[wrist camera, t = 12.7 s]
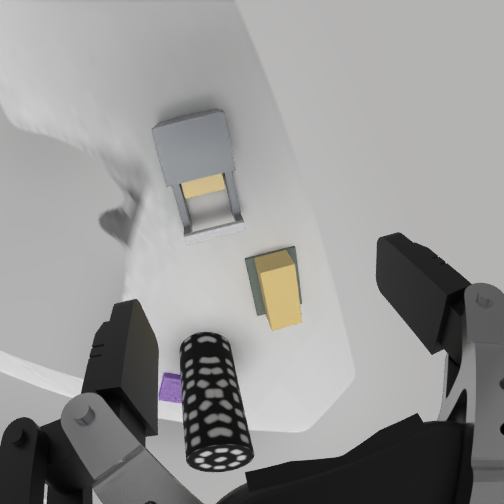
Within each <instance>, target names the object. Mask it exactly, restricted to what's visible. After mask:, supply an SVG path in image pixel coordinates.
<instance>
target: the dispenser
mask: <svg viewBox="0 0 504 504" xmlns="http://www.w3.org/2000/svg"><path fill="white" fill-rule="evenodd" d="M152 133H153V137H154V141H155V145H156V149H157V153H158V157H159V160H160V164H161V168H162V172H163V175H164V179H165V183H166V186H167V187H169V186H172V187H173V191H174V194H175V198H176V201H177V205H178V209H179V212H180V216H181V219H182V223H183V226H184V239H185V242H186V245H188V244H191V243H195V242H199V241H203V240H207V239H211V238H215V237H219V236H223V235H227V234H231V233H236V232H240V231H244V230H246V228H245V223H244V220H243V218H242V216H241V214H240V209H239V204H238V199H237V194H236V190H235V185H234V180H233V175H232V171H234V170H236V169H235V164H234V159H233V154H232V149H231V144H230V139H229V134H228V129H227V124H226V119H225V114H224V111H222V110H219V109H214V110H209V111H205V112H200V113H196V114H192V115H188V116H184V117H180V118H176V119H172V120H168V121H165V122H161V123H158V124H157V125H156V126H155V127H153V128H152ZM222 173H224V177H225V182H226V186H227V191H228V195H229V200H230V205H231V209H232V214H233V217H234V220H235V222H232V223H227V224H223V225H219V226H215V227H211V228H207V229H203V230H199V231H195V232H192V224H191V220H190V216H189V213H188V209H187V205H186V202H185V199H187V198H191V197H194V196H198V195H202V194H206V193H211V192H215V191H219V190H223V189H225V185H224V180H223V176H222ZM181 184H182V186H181ZM182 188H183V190H182ZM183 192H184V194H183ZM184 196H185V198H184Z"/></svg>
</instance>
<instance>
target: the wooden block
mask: <svg viewBox="0 0 504 504" xmlns="http://www.w3.org/2000/svg"><path fill="white" fill-rule="evenodd" d="M254 260H255V265H256V269H257V274H258V279H259V284H260V289H261V293H262V298H263V303H264V308H265V312H266V316H267V319H268V321H269V324H270V327H271V330H272V331H273V330H277V329H281V328H284V327H288V326H291V325H295V324H298V323H301V322H302V317H301V309H300V300H299V292H298V284H297V277H296V269H295V264H294V262H293V260H292V259H291V257H290V255H289V254H288V252H287V250H283V251H279V252H275V253H271V254H268V255H264V256H260V257H256V258H254Z"/></svg>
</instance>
